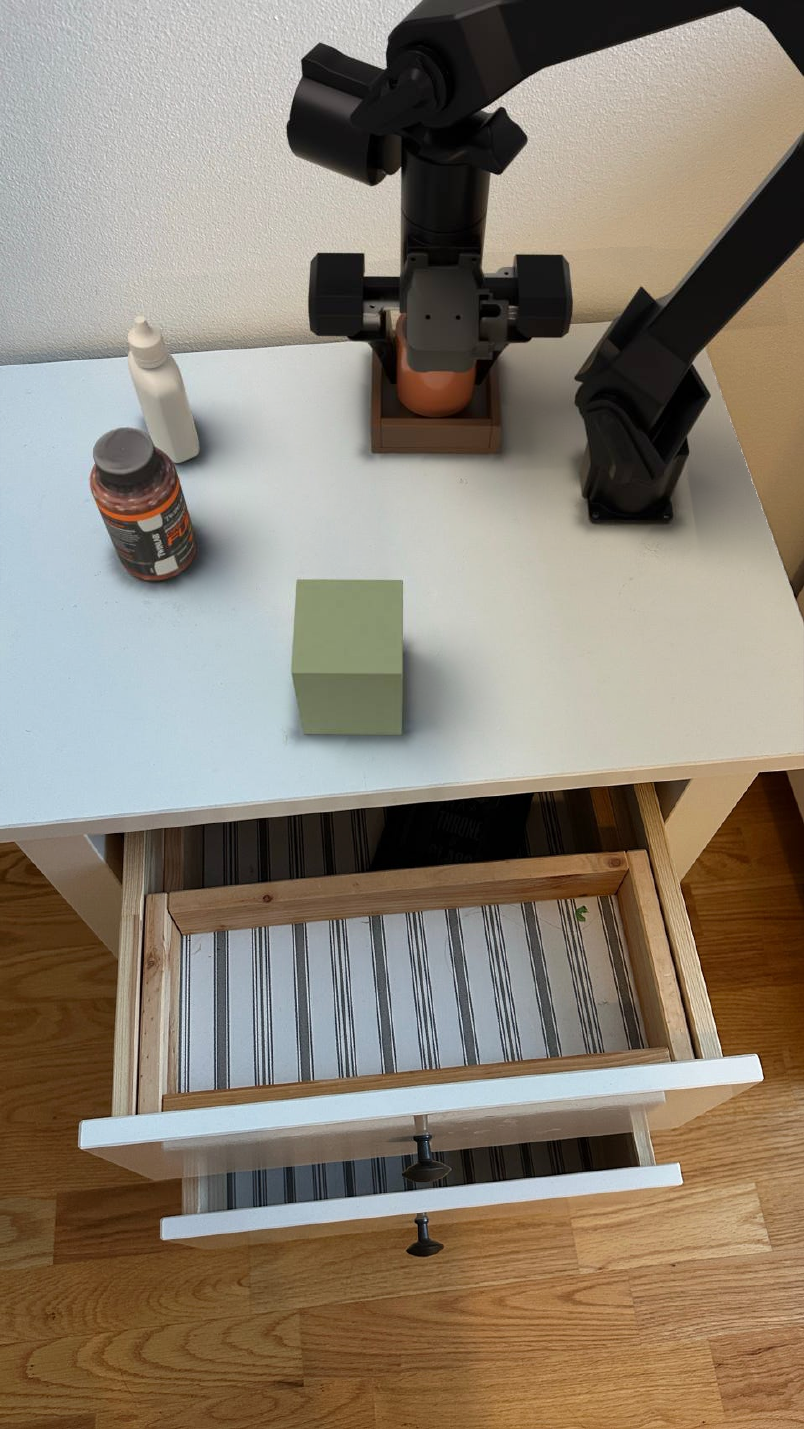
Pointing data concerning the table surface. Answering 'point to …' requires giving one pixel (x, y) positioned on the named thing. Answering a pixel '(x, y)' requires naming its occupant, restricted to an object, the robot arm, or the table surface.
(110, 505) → the supplement bottle
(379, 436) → the tray
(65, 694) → the table surface
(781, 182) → the robot arm
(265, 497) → the table surface
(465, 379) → the cup
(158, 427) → the eye dropper bottle
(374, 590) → the sage green cube
